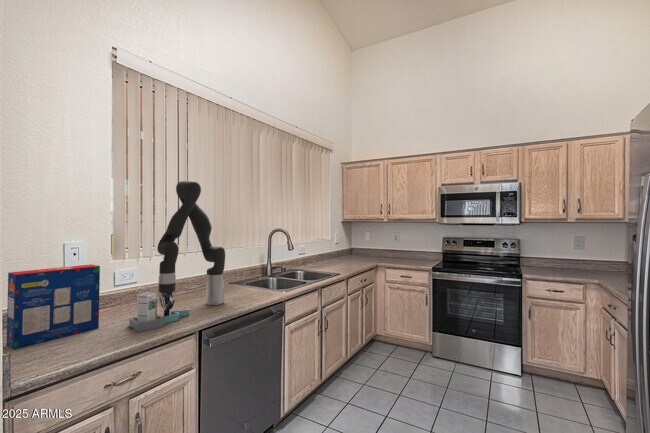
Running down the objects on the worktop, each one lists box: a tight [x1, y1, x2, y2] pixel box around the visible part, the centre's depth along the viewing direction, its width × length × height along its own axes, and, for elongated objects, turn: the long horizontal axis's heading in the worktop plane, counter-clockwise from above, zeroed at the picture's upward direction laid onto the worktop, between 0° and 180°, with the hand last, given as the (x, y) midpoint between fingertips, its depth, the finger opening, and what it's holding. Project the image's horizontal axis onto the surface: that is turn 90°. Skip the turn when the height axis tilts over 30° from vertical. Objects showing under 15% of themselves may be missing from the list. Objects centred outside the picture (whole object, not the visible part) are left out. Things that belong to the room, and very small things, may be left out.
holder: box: [128, 314, 165, 333], centre depth 147 cm, size 11×11×4 cm
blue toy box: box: [6, 263, 101, 351], centre depth 133 cm, size 28×8×28 cm, turn 149°
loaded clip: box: [170, 307, 190, 318], centre depth 164 cm, size 8×5×3 cm, turn 113°
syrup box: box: [136, 291, 158, 323], centre depth 148 cm, size 6×6×14 cm
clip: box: [158, 312, 181, 324], centre depth 155 cm, size 8×5×3 cm, turn 138°
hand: (166, 317), depth 157 cm, fingers closed
